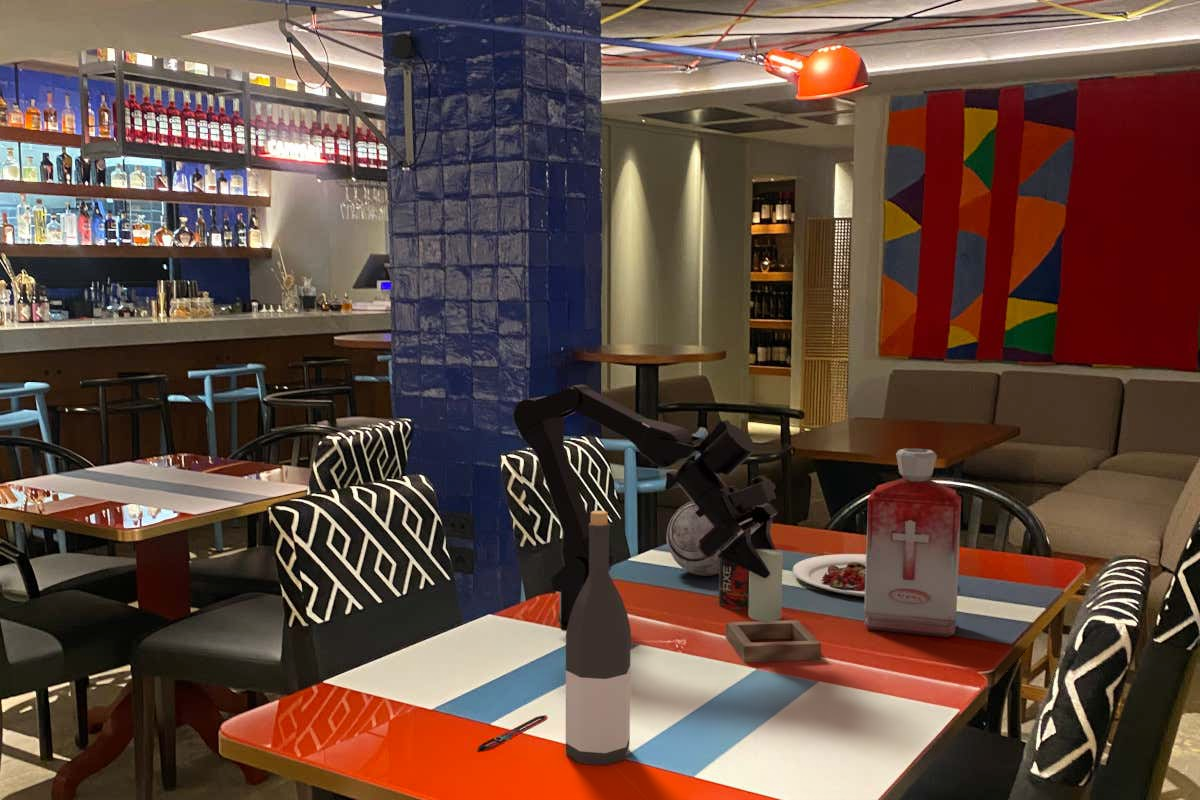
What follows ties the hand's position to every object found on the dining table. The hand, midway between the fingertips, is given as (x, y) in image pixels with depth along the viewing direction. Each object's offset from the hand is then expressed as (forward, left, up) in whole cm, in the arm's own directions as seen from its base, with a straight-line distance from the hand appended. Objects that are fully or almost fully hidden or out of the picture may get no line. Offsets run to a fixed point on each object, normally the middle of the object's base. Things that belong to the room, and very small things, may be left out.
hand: (774, 572), depth 173 cm
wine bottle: (-31, -31, -14) cm, 46 cm away
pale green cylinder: (-1, +1, -7) cm, 7 cm away
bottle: (+27, +13, -14) cm, 33 cm away
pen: (-41, -24, -14) cm, 50 cm away
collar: (+1, +5, -13) cm, 14 cm away
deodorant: (+1, +29, -14) cm, 32 cm away
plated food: (+31, +42, -14) cm, 54 cm away
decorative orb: (0, +50, -14) cm, 51 cm away
